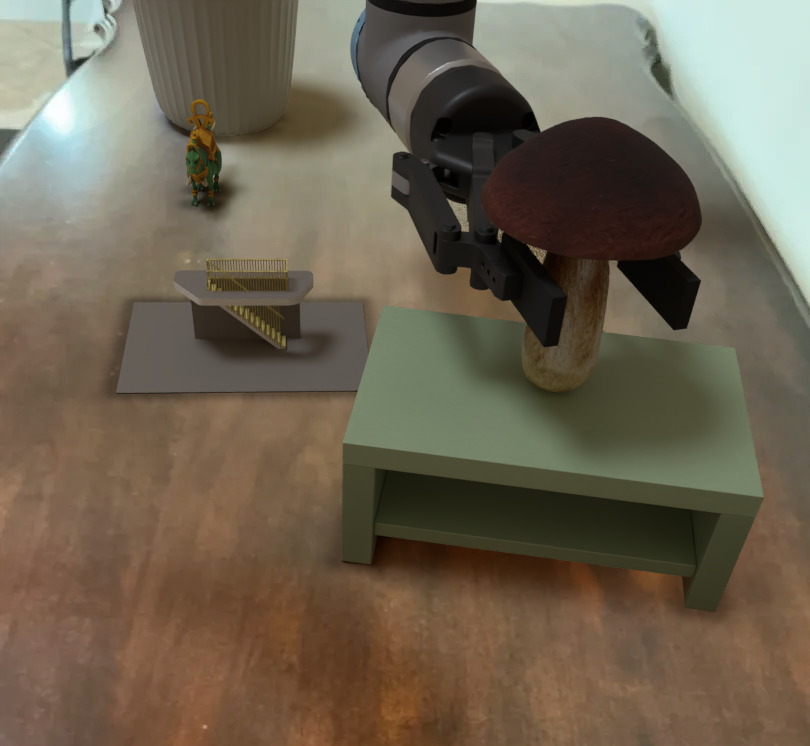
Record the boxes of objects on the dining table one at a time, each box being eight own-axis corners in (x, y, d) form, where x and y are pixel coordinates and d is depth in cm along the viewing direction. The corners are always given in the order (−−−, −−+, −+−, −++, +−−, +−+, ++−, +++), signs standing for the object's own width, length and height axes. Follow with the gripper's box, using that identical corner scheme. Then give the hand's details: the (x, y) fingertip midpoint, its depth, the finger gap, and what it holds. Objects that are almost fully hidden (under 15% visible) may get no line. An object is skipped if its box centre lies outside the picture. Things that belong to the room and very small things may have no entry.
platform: (372, 390, 70) (375, 310, 65) (115, 392, 68) (100, 310, 63) (362, 302, 78) (364, 225, 74) (133, 302, 76) (121, 223, 72)
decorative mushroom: (492, 316, 61) (526, 64, 50) (666, 360, 58) (739, 104, 48) (432, 413, 53) (456, 140, 43) (627, 468, 51) (705, 193, 40)
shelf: (696, 459, 66) (735, 347, 60) (715, 612, 56) (764, 497, 50) (377, 419, 67) (382, 304, 61) (340, 561, 57) (342, 442, 51)
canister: (275, 165, 95) (265, -84, 81) (105, 136, 98) (66, -111, 83) (332, 101, 108) (333, -125, 93) (181, 76, 111) (158, -147, 96)
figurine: (179, 219, 86) (169, 127, 81) (201, 162, 95) (192, 75, 89) (214, 221, 86) (206, 129, 81) (232, 164, 95) (226, 77, 89)
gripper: (588, 170, 67) (770, 355, 52) (316, 193, 63) (427, 403, 47) (610, 56, 62) (819, 223, 47) (315, 71, 57) (439, 263, 42)
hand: (622, 313), depth 47 cm, fingers open, 6 cm apart
